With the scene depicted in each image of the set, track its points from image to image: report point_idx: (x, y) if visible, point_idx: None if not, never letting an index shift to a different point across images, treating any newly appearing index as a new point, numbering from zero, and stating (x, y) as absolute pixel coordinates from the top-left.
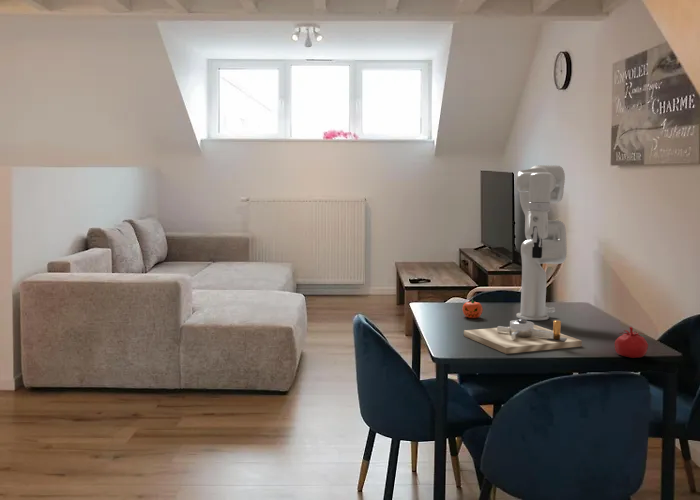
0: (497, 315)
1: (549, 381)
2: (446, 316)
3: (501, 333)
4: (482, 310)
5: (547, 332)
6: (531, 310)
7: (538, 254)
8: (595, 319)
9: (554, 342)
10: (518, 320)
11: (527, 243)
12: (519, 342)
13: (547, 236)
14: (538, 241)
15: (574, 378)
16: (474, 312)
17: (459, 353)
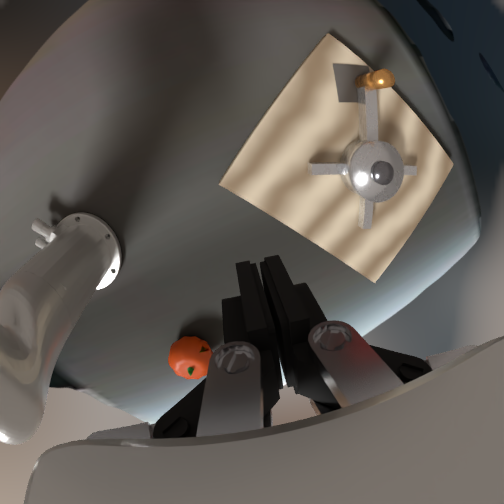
0: (128, 319)
1: (499, 87)
2: None
3: None
4: (181, 342)
5: (376, 102)
6: (101, 252)
7: (306, 285)
8: (10, 133)
9: None
10: (391, 179)
11: (17, 432)
12: (418, 151)
13: (82, 451)
14: (422, 372)
15: (481, 58)
16: (208, 346)
17: (462, 224)
